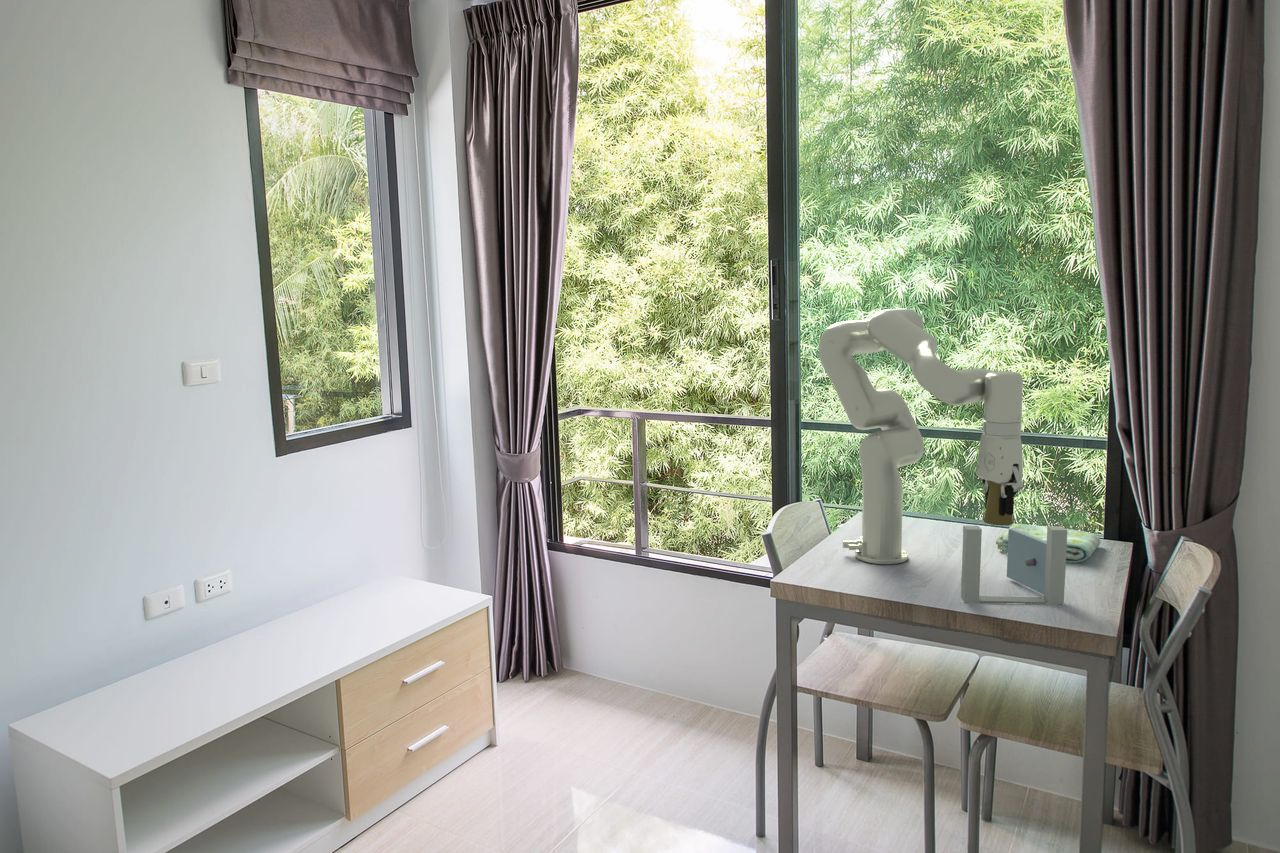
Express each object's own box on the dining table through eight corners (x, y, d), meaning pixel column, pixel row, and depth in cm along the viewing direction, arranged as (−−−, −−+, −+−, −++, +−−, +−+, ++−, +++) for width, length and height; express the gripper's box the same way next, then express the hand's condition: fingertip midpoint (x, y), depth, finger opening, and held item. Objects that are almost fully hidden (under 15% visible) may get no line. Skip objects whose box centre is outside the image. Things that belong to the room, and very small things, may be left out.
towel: (1012, 536, 237) (1012, 518, 236) (1100, 548, 225) (1102, 529, 224) (994, 553, 222) (994, 534, 222) (1087, 567, 210) (1089, 546, 209)
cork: (992, 526, 190) (994, 475, 189) (978, 519, 196) (979, 470, 195) (1019, 524, 191) (1021, 474, 190) (1003, 517, 197) (1005, 468, 196)
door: (1049, 594, 189) (1052, 543, 188) (1038, 596, 189) (1040, 545, 187) (1011, 576, 202) (1013, 528, 200) (1000, 577, 201) (1002, 529, 199)
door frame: (964, 602, 188) (966, 529, 186) (960, 597, 191) (963, 525, 189) (1063, 604, 186) (1067, 530, 183) (1058, 599, 189) (1062, 526, 186)
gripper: (963, 424, 198) (961, 505, 201) (1011, 436, 182) (1008, 523, 185) (993, 422, 200) (990, 502, 202) (1043, 434, 184) (1039, 520, 186)
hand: (999, 511), depth 194 cm, fingers closed on cork, 4 cm apart
